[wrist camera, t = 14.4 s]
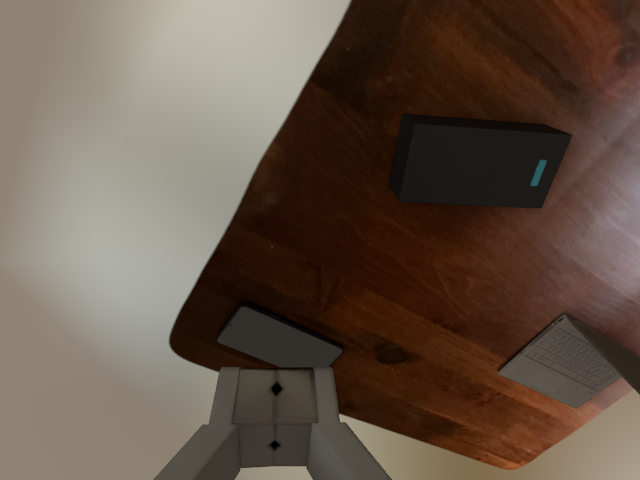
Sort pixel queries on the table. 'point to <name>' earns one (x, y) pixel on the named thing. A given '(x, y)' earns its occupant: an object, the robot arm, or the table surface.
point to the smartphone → (276, 339)
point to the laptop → (572, 363)
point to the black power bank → (475, 161)
